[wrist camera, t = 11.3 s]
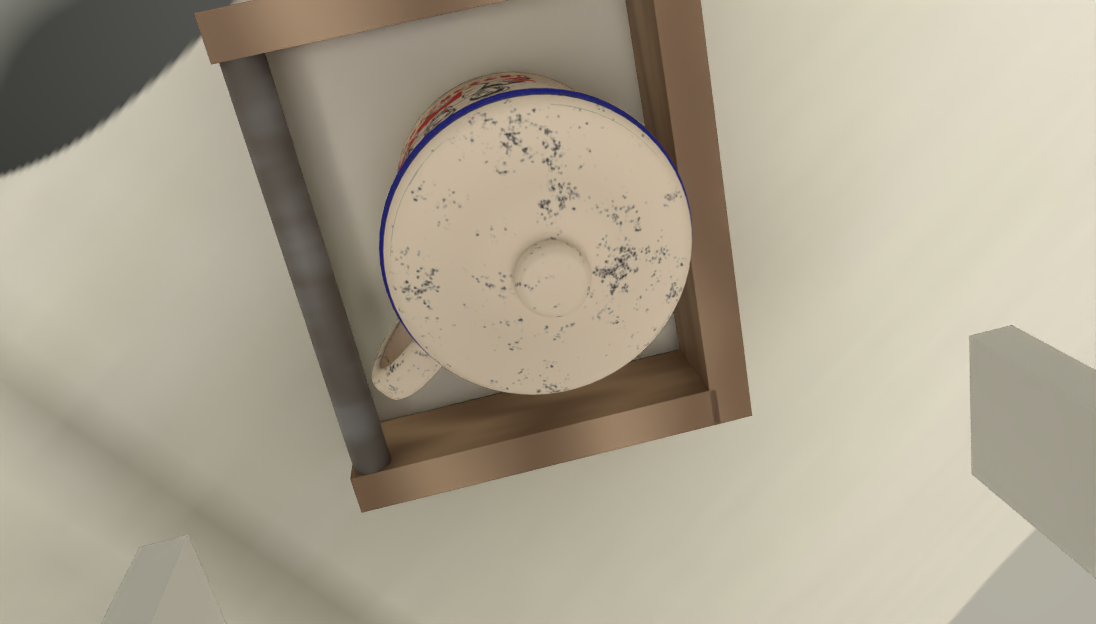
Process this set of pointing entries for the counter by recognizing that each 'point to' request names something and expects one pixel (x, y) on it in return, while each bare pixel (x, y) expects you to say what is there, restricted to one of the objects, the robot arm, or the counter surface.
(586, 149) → the teacup with lid
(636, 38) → the wooden tray
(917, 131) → the counter surface
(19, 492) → the counter surface
